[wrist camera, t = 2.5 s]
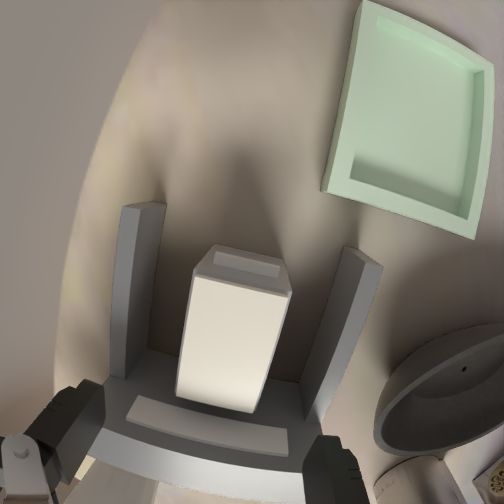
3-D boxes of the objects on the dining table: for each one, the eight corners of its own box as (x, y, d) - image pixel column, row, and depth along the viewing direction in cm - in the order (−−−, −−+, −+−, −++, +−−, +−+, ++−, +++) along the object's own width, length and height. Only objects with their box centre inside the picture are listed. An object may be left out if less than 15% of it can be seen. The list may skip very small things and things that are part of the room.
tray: (479, 71, 18) (493, 65, 15) (457, 234, 21) (474, 240, 19) (355, 13, 18) (363, -2, 15) (319, 191, 21) (326, 191, 18)
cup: (115, 460, 28) (80, 531, 16) (97, 414, 26) (47, 492, 14) (177, 473, 28) (154, 555, 16) (167, 428, 26) (132, 523, 14)
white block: (285, 251, 22) (296, 283, 15) (257, 354, 24) (255, 416, 16) (216, 235, 22) (193, 259, 15) (196, 340, 24) (172, 397, 16)
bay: (358, 249, 22) (423, 295, 12) (297, 417, 25) (308, 504, 15) (151, 201, 21) (75, 214, 12) (132, 379, 25) (85, 454, 15)
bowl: (360, 320, 23) (386, 360, 17) (535, 289, 22) (572, 308, 16) (348, 429, 25) (361, 474, 19) (510, 382, 24) (536, 408, 18)
